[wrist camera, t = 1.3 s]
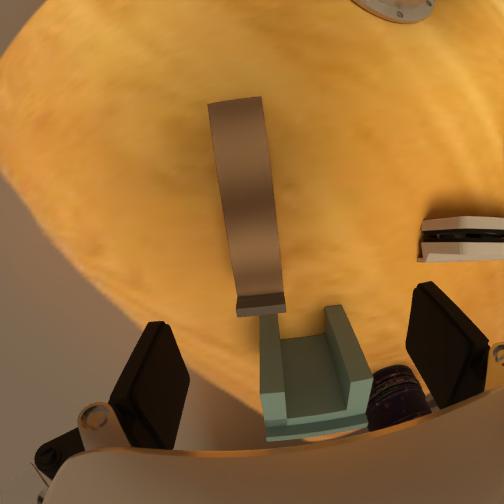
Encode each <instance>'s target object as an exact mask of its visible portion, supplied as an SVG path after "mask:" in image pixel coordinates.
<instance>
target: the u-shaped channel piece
mask: <svg viewBox="0 0 504 504" xmlns="http://www.w3.org/2000/svg"><path fill="white" fill-rule="evenodd" d="M372 382H373V376H372V373H371V371H370V368H369V366H368V363H367V361H366V359H365V356H364V354H363V352H362V349H361V347H360V345H359V342H358V340H357V338H356V336H355V333H354V331H353V329H352V327H351V324H350V322H349V320H348V318H347V316H346V313H345V311H344V309H343V307H342V305H336V306H329V307H325V334H323V335H316V336H309V337H301V338H292V339H283V340H280V336H279V326H278V316H277V314H267V315H260V398H261V403H262V409H263V414H264V419H265V425H266V439H267V441H279V440H290V439H299V438H307V437H315V436H321V435H328V434H334V433H339V432H345V431H350V430H355V429H359V428H364V427H367V425H368V420H367V417H366V414H365V413H366V409H367V404H368V400H369V396H370V392H371V387H372Z"/></svg>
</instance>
